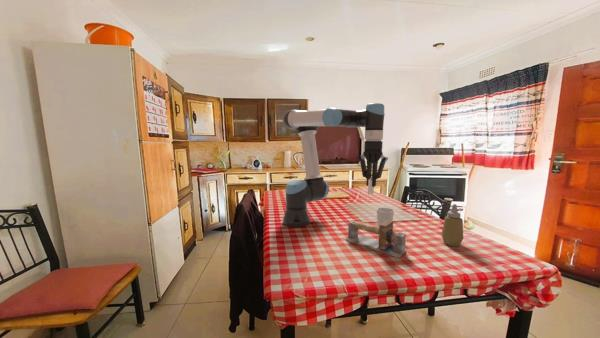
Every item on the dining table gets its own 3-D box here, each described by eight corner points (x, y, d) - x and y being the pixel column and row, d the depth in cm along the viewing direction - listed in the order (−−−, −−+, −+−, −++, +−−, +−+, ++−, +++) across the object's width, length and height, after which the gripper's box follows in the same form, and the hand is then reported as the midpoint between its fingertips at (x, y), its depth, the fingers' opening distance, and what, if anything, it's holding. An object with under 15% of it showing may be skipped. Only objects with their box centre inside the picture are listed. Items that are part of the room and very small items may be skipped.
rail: (345, 240, 104) (346, 222, 102) (354, 234, 109) (354, 218, 108) (399, 258, 88) (400, 237, 87) (406, 250, 93) (407, 231, 92)
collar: (378, 248, 93) (379, 224, 92) (386, 241, 99) (387, 219, 98) (384, 250, 91) (385, 226, 90) (392, 243, 97) (393, 221, 96)
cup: (394, 237, 107) (395, 212, 105) (376, 235, 109) (377, 211, 107) (391, 230, 115) (392, 207, 113) (374, 229, 116) (375, 206, 115)
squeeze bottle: (459, 241, 102) (462, 202, 100) (465, 249, 94) (469, 208, 92) (438, 238, 105) (441, 201, 102) (443, 246, 97) (446, 206, 95)
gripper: (355, 140, 99) (353, 192, 102) (384, 140, 90) (381, 197, 93) (363, 140, 104) (361, 189, 108) (391, 140, 96) (388, 194, 99)
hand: (370, 193), depth 101 cm, fingers closed
